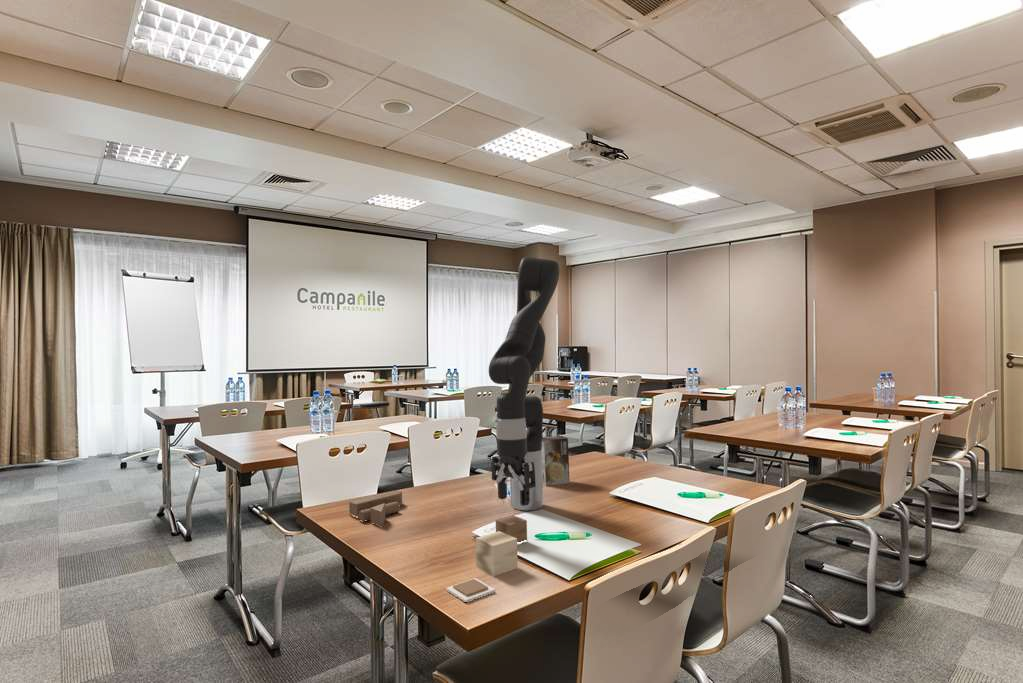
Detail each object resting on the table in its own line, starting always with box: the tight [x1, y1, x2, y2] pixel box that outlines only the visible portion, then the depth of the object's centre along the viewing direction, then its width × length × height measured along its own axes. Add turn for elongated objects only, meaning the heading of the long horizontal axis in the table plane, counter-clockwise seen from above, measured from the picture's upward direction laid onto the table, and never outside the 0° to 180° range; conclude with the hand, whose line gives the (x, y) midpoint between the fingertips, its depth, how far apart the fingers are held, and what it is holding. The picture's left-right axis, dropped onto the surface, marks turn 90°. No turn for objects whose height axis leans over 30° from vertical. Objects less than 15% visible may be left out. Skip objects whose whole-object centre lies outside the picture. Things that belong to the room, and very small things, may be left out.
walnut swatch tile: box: [445, 577, 496, 603], centre depth 106 cm, size 7×7×1 cm
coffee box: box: [542, 435, 571, 487], centre depth 190 cm, size 9×6×16 cm
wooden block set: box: [348, 490, 403, 527], centre depth 158 cm, size 17×6×18 cm
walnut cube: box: [495, 514, 528, 542], centre depth 133 cm, size 6×6×6 cm
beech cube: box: [475, 531, 519, 577], centre depth 118 cm, size 6×6×6 cm
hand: (513, 501), depth 133 cm, fingers open, 8 cm apart
